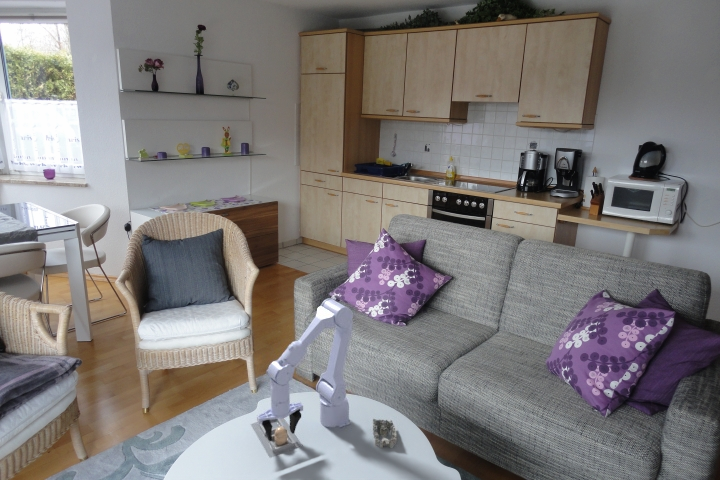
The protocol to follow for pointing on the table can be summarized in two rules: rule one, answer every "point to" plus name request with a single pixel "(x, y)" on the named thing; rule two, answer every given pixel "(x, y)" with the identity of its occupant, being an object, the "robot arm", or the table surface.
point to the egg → (280, 436)
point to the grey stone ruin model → (384, 432)
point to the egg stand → (270, 446)
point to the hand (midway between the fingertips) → (280, 435)
